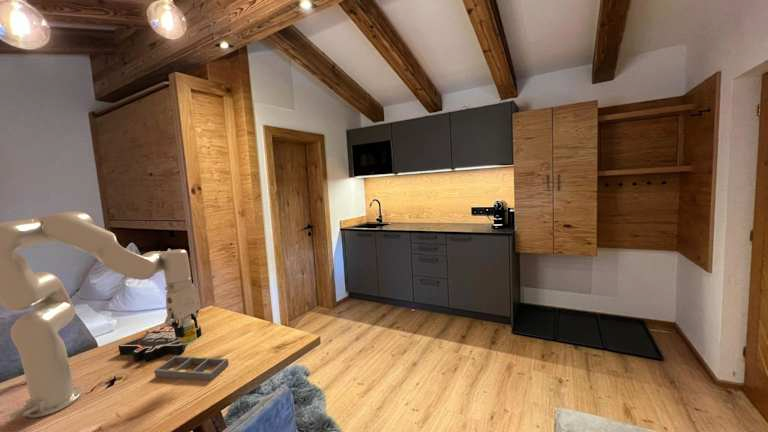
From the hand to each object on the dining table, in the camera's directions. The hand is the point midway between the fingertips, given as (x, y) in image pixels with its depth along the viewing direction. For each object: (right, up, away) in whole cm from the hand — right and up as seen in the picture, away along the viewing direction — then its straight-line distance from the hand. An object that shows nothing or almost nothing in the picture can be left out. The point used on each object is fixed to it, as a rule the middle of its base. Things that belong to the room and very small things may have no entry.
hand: (186, 332), depth 112 cm
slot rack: (+1, -15, +2) cm, 15 cm away
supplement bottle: (0, -4, 0) cm, 4 cm away
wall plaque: (-24, -14, +25) cm, 37 cm away
